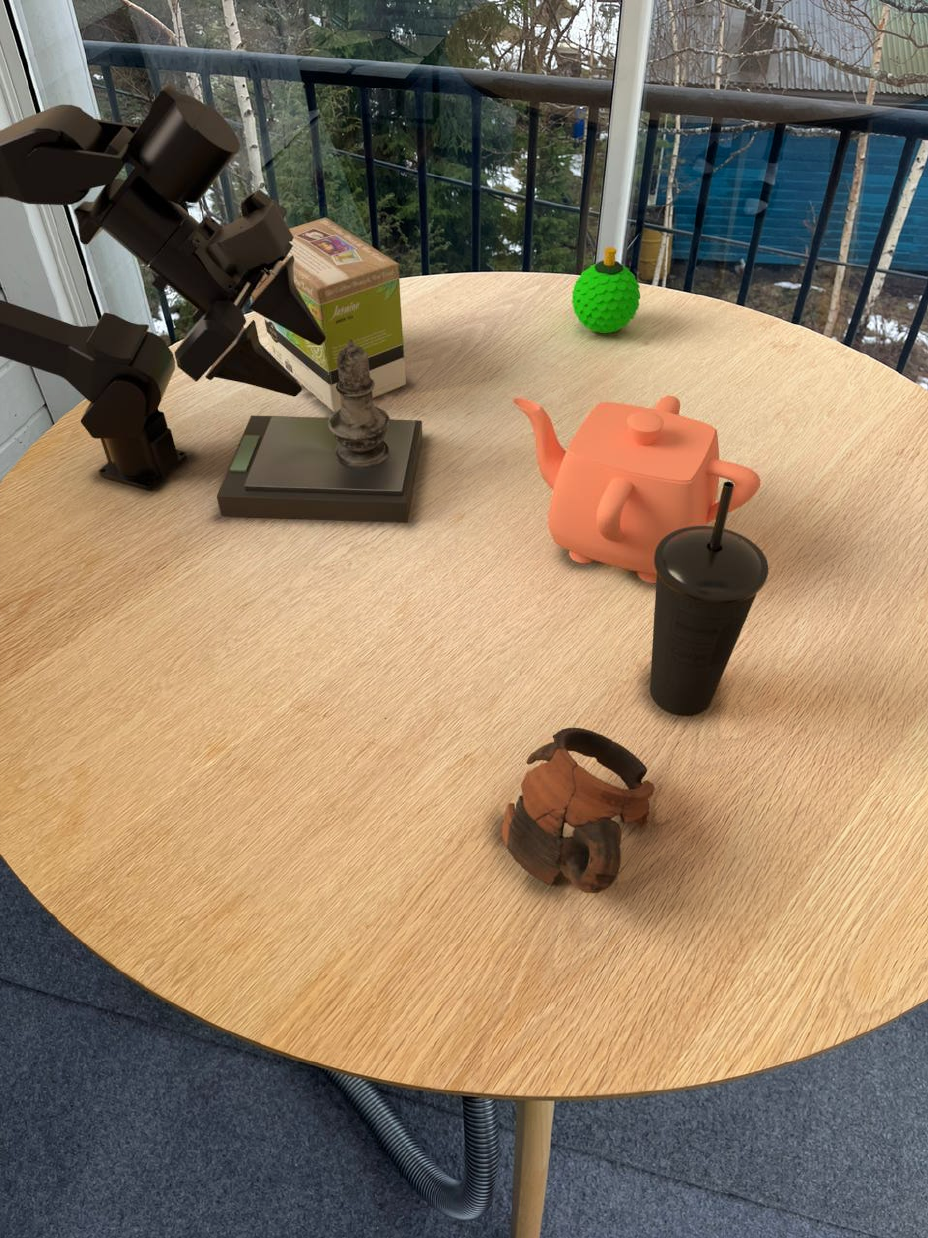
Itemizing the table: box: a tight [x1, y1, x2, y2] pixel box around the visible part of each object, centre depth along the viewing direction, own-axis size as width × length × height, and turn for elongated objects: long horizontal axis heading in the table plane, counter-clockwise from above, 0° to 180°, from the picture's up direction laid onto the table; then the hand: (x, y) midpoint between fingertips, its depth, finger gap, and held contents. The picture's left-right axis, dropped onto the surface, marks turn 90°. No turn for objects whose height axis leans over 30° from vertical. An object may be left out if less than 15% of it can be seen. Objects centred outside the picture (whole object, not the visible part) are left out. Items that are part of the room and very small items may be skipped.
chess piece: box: [328, 340, 391, 468], centre depth 88 cm, size 6×6×12 cm
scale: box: [216, 415, 424, 524], centre depth 94 cm, size 18×14×3 cm
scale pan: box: [244, 415, 416, 496], centre depth 93 cm, size 15×12×1 cm
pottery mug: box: [501, 727, 655, 894], centre depth 62 cm, size 12×10×8 cm
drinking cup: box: [649, 481, 770, 717], centre depth 66 cm, size 8×8×20 cm
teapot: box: [512, 395, 761, 584], centre depth 82 cm, size 17×16×13 cm
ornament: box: [571, 246, 641, 334], centre depth 112 cm, size 8×8×10 cm
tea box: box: [263, 217, 407, 413], centre depth 104 cm, size 15×10×15 cm, turn 36°
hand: (311, 366), depth 86 cm, fingers open, 9 cm apart
